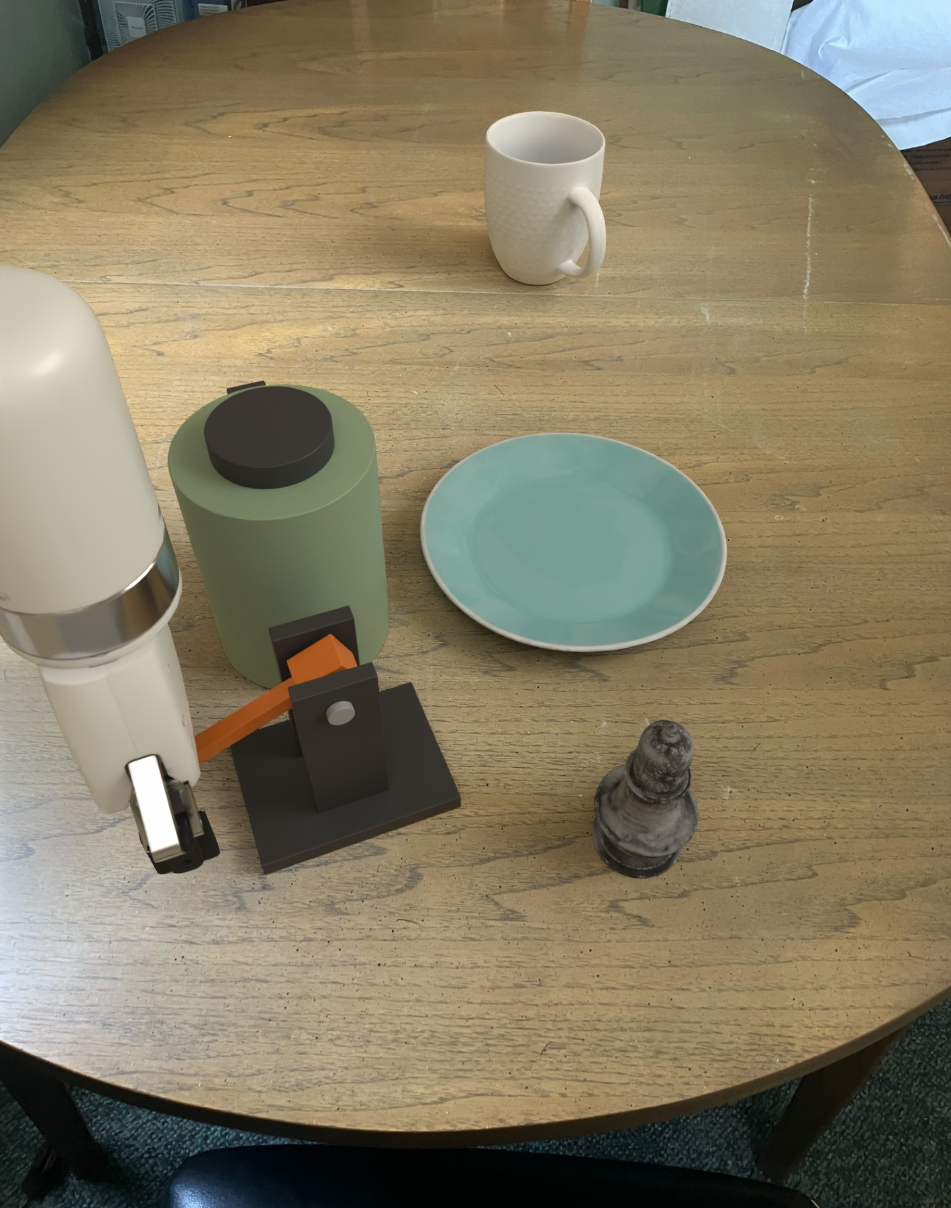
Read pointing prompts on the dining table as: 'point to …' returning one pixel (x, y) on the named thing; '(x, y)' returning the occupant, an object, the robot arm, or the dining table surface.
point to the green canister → (282, 516)
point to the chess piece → (647, 804)
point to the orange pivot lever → (269, 701)
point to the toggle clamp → (338, 756)
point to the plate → (573, 542)
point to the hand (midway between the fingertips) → (172, 782)
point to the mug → (544, 195)
